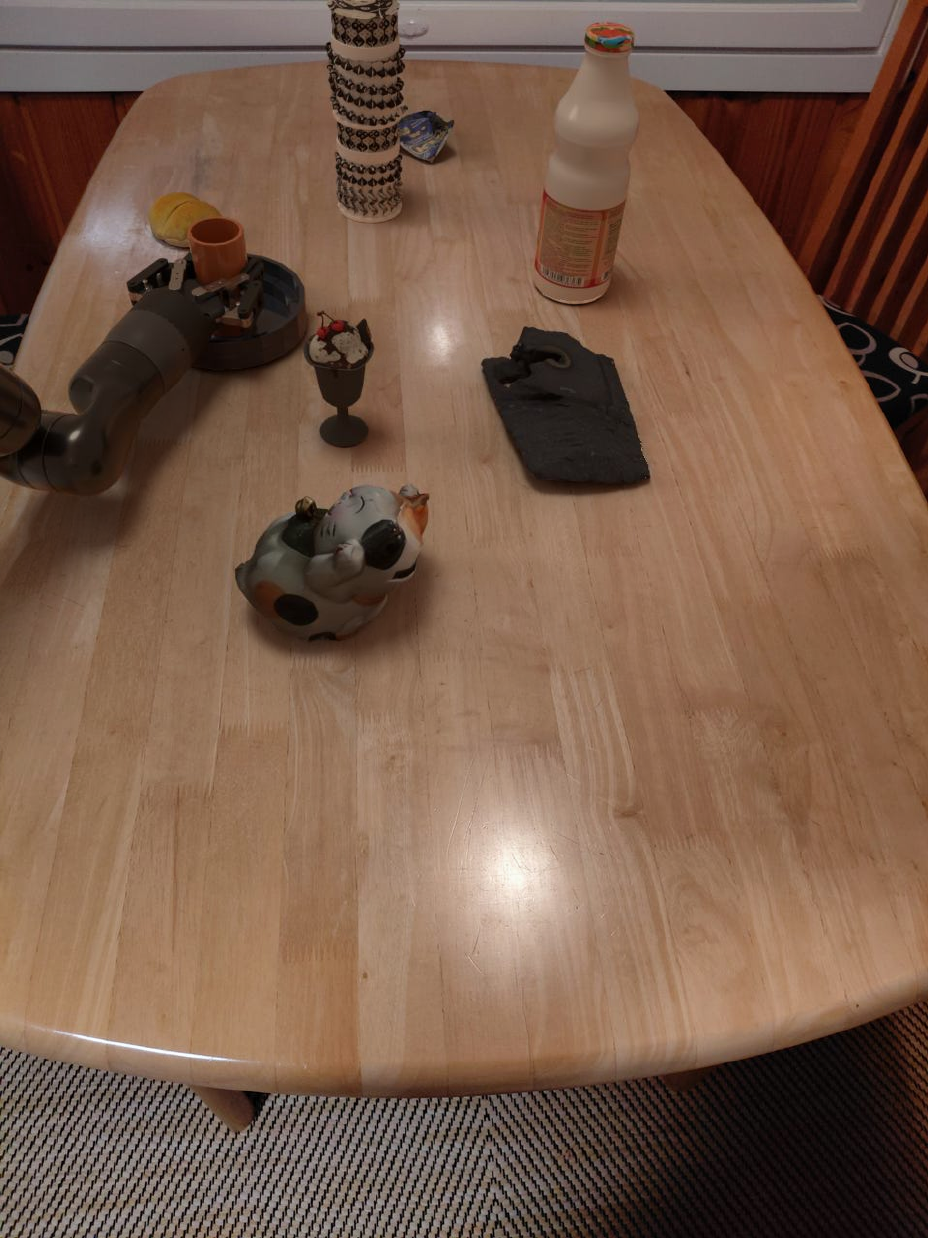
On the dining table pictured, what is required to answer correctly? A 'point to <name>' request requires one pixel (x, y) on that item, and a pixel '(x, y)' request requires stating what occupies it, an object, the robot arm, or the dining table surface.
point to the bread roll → (177, 216)
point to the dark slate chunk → (566, 410)
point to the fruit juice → (588, 171)
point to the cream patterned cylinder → (367, 107)
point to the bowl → (263, 324)
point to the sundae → (340, 375)
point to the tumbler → (218, 255)
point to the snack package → (423, 133)
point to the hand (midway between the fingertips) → (232, 258)
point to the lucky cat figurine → (335, 561)
